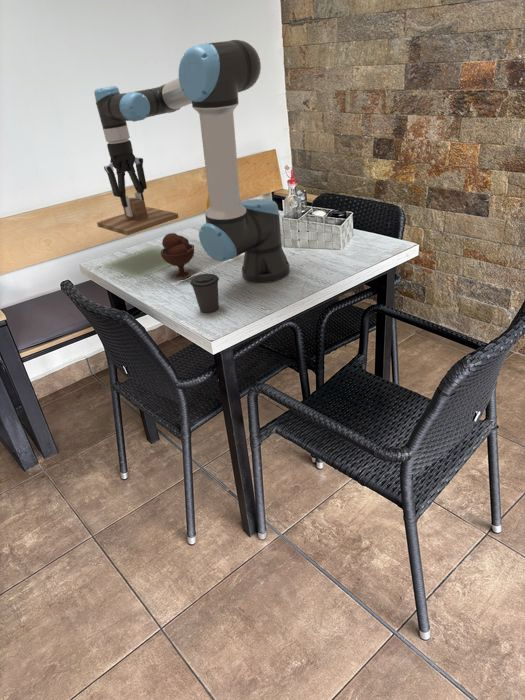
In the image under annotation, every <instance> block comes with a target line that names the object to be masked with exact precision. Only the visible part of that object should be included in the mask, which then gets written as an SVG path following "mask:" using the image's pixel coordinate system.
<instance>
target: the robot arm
mask: <svg viewBox="0 0 525 700" xmlns="http://www.w3.org/2000/svg"><path fill="white" fill-rule="evenodd" d="M261 63H262V62H261V59H260V56H259V54H258V52H257V50H256V48H255V47H254V46H252V45H251V44H250V43H248V42H247V41H244V40H240V39H232V40H231V39H230V40H226V41H224V40H223V41H217V42H204V43H200V44H197V45H194V46H193V45H192V46H191V47H189V48H188V49H186V50H185V52H184V53H183V56H182V57H181V59H180V62H179V66H178V77H177V78H175V79H173V80H171V81H169V82H167V83H164V84H162V85H160V86H156V87H153V88H147V89H142V90H136V91H131V92H124V93H120V89H119V88H118V87H117V86H115V85H114V86H112V85H111V86H105V87H99V88H96V89H95V90H94V92H93V93H94V98H95V105H96V108H97V111H98V115H99V119H100V122H101V127H102V131H103V134H104V139H105V142H107V143H106V147H107V151H108V154H109V156H110V157H109V158H110V162H109V164H108V165H104V166H103V170H104V171H105V173H106V174H107V177H108V181H109V183H110V187H111V190H112V193H113V196H114V197H116V198H119V199H120V202H121V206H122V208H123V207H125V210H126V214H127V216H130V217H132V216H133V214H132V210H131V206H130V202H129V198H130V197H129V196H126V195H127V194H126V193H127V191H126V179H125V176H126V172H127V174H128V175H129V178H130V180H131V181H132V184H133V186H134V189H135V191H136V192H134V198H136V199H142V200H144V201H145V198H144V194H143V193H144V192H145V190H147V188H148V185H147V181H146V175H145V171H144V165H143V164H144V158H143V157H136V156H135V155H134V152H133V151H134V150H133V145H132V142H131V140H130V138H131V136H130V132H129V128H128V125H127V122H138V121H139V122H140V121H144V120H145V119H147V118H150V117H155V116H160V115H164V114H171V113H174V112H177V111H179V110H180V109H182V108H183V107H186V106H189V105H191V106H192V109H194V110H195V111H196V112H197V113H198V114H199V123H200V124H199V125H200V131H201V143H202V148H203V149H202V150H203V158H204V166H205V175H206V177H205V178H206V185H207V193H208V195H209V204H210V207H209V208H208V209H207V208H206V211H205V212H204V215H205V223H204V224H202V225H201V226H200V228H199V230H198V237H199V242H200V245H201V246H202V248H203V250H204V251H205V252H206V253H207V255H208V256H209V257H210V258H212V259H213V260H215V261H217V262H226V261H229V260H233V259H235V258H237V257H239V256H240V255H242V254H244V257H243V263H242V267H241V274H242V278H243V279H244V280H245V281H248V282H250V283H261V284H262V283H270V282H275V281H279V280H282V279H284V278H285V277H288V275H289V274H290V272H291V270H290V263H289V261H288V259H287V256H286V254H285V252H284V250H283V244H282V233H281V230H282V229H281V221H280V219H281V218H280V215H281V214H280V212H279V206H278V204H277V202H276V201H274V200H272V199H264V198H263V199H262V198H259V199H257V198H256V199H245V200H242V201H241V194H240V179H239V169H238V168H239V167H238V158H237V157H238V156H237V144H236V131H235V130H236V129H235V120H234V119H235V117H234V111H235V109H236V108H237V106H238V105H239V95H238V94H239V93H241V92H244V91H247V90H249V89H251V88H252V87H254V85H255V84H256V82H257V81H258V80H259V78H260V74H261V70H262V69H261V67H262V66H261ZM134 164H135V167H134ZM114 170H116V171H115V172H116V174H115V172H114ZM116 175H117V177H116ZM116 178H117V179H116ZM208 195H207V196H208ZM236 256H237V257H236Z"/></svg>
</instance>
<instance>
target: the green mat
mask: <svg viewBox="0 0 525 700" xmlns="http://www.w3.org/2000/svg"><path fill="white" fill-rule="evenodd" d="M162 249H164V247H163V248H162V247H159V246H157V245H156V246H155V245H154V246H152V247H149V248H147V249H144V250H142V251H139V252H136V253H133V254H131V255H129V256H125V257H123V258H120V259H118V260H114V261H112V262H108V263H107V264H104V266H105V267H107V268H108V269H112V270H115V271H117V272H119V273H121V274H124V275H126V276H129V277H131V278H133V279H136V280H137V279H140V278H142V277H146V276H147V275H149V274H152V273H154V272H157V271H159V270H162V269H164V268H167V267H169V266H172V265H171V264H169V263H167V262H166V261H165V260H164V259H163V258H162V256H161V250H162Z"/></svg>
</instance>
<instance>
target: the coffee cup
mask: <svg viewBox="0 0 525 700" xmlns="http://www.w3.org/2000/svg"><path fill="white" fill-rule="evenodd" d="M219 280H220V277H219V276H218V275H216V274H215V273H202V274H199V275H196V276H194V277H192V278H191V280H190V282H189V284H190V285H191V286H192V289H193V292H194V295H195V297H196V298H195V299H196V302H197V304H198V308H199V312H201V313H202V314H205V315H206V314H213V313H216V312H218V311H219V308H220V302H219V301H220V300H219V298H220V297H219Z"/></svg>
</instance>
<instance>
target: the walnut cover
mask: <svg viewBox="0 0 525 700" xmlns="http://www.w3.org/2000/svg"><path fill="white" fill-rule="evenodd" d="M128 198H129V202H130V206H131V210H132V214H133V216H132V217H130V216H127V214H126V210H125V207H123V206H122V208H123V212H124V213H122V214H119V215H116V216H113V217H110V218H107V219H104V220H103V219H102V220H100V221H97V222H96V225H97V227H98V228H101V229H105V230H108V231H111V232H116V233H117V234H122V235H124V236H130V235H133V234H135V233H139V232H141V231H144V230H148V229H150V228H152V227H156V226H159V225H162V224H164V223H165V224H166V223H168V222H170V221H174V220H176V219H179V214H178V213H177V212H172V211H168V210H164V209H163V210H162V209H159V208H154V207H149V206H146V203H145V199H144V200H142V199H136V198H135V197H128Z"/></svg>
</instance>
